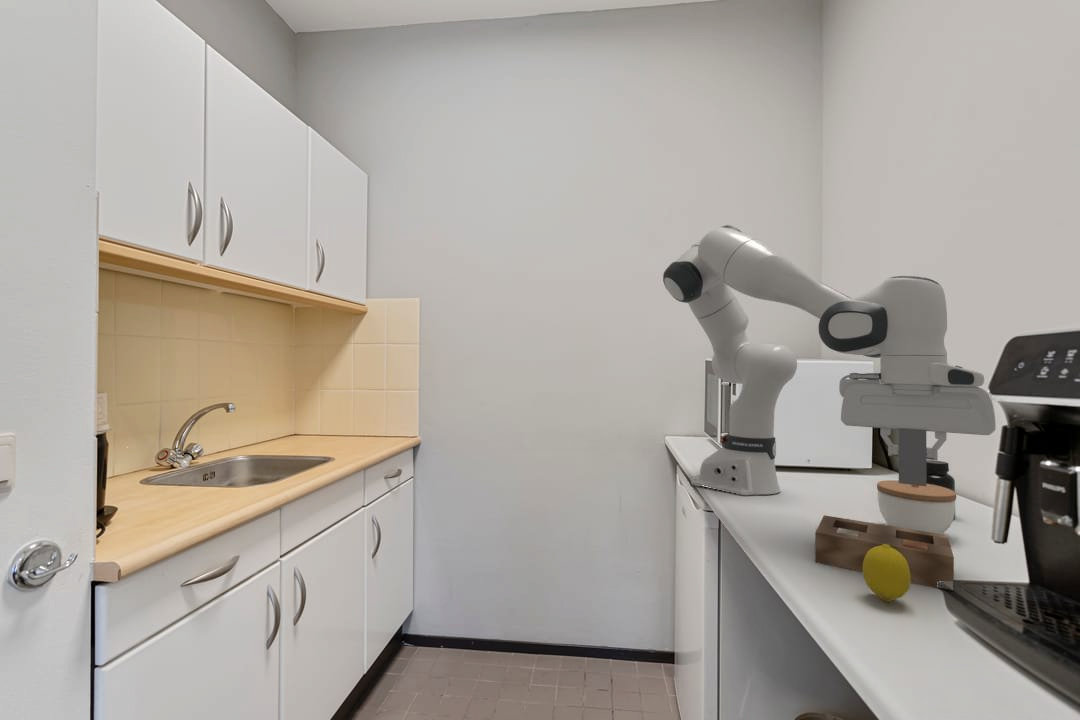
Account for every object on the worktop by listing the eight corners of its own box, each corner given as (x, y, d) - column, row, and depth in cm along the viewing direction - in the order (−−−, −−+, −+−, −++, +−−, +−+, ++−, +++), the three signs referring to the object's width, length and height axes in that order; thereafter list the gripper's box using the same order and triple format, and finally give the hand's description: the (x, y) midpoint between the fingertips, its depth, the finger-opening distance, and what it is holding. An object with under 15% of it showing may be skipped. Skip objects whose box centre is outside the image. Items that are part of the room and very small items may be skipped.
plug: (898, 483, 82) (898, 428, 82) (898, 479, 85) (898, 426, 85) (926, 486, 80) (926, 430, 80) (925, 482, 82) (925, 427, 83)
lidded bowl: (870, 532, 99) (870, 477, 99) (883, 519, 108) (884, 468, 108) (952, 549, 90) (952, 488, 90) (959, 533, 99) (959, 478, 99)
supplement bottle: (941, 511, 114) (941, 459, 115) (963, 520, 108) (963, 465, 108) (909, 510, 115) (909, 458, 115) (929, 519, 108) (929, 464, 108)
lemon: (853, 592, 72) (853, 537, 73) (889, 592, 73) (889, 537, 73) (882, 611, 67) (882, 551, 67) (921, 610, 67) (921, 551, 67)
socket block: (815, 561, 84) (815, 530, 84) (823, 541, 94) (824, 513, 94) (953, 591, 73) (953, 555, 73) (947, 565, 83) (947, 533, 83)
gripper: (837, 372, 86) (837, 453, 86) (997, 375, 74) (997, 468, 74) (841, 372, 91) (840, 448, 91) (991, 374, 79) (991, 462, 79)
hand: (912, 457), depth 82 cm, fingers closed on plug, 4 cm apart
